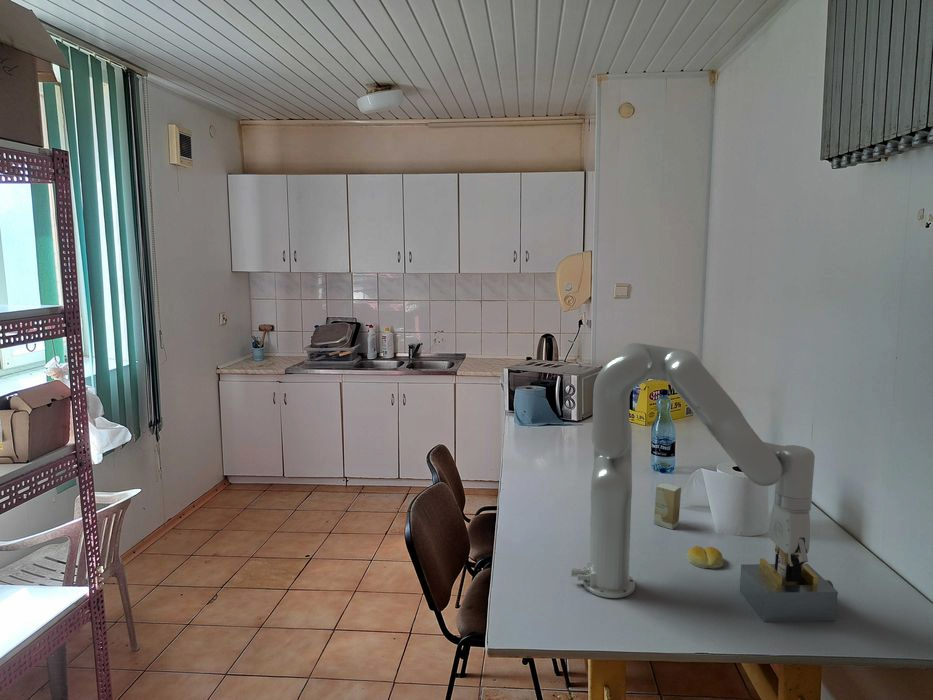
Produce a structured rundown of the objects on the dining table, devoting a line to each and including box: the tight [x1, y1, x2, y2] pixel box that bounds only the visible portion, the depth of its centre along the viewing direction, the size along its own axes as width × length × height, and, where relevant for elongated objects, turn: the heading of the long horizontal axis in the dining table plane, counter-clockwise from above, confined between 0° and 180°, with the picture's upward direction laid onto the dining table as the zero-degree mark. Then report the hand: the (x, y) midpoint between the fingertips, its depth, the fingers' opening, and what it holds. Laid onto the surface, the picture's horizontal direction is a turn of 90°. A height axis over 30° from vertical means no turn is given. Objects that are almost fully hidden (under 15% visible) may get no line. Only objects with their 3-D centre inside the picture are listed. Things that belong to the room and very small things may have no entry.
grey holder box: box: [739, 557, 839, 623], centre depth 152 cm, size 18×13×10 cm
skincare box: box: [653, 482, 682, 530], centre depth 196 cm, size 6×4×12 cm
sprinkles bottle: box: [777, 548, 798, 586], centre depth 151 cm, size 5×5×14 cm
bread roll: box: [686, 545, 724, 570], centre depth 174 cm, size 8×9×4 cm
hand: (787, 574), depth 152 cm, fingers closed on sprinkles bottle, 4 cm apart
